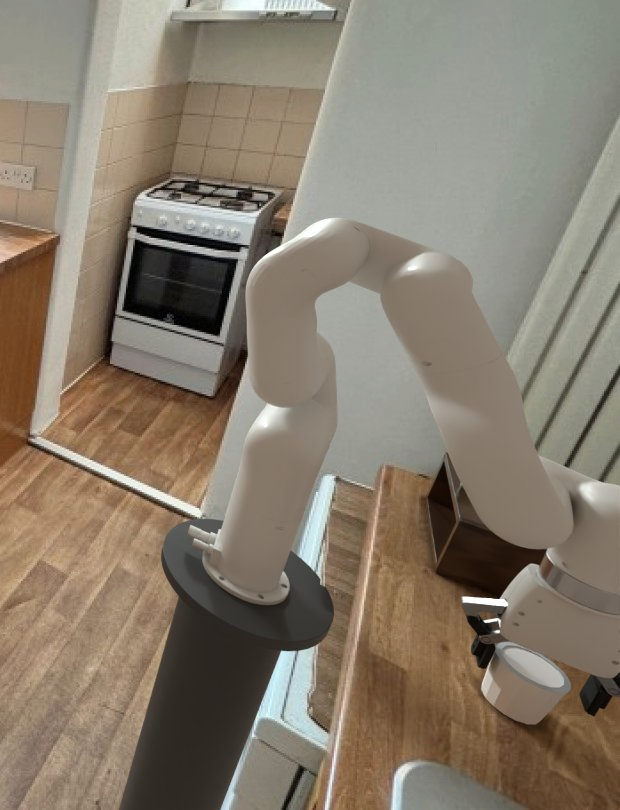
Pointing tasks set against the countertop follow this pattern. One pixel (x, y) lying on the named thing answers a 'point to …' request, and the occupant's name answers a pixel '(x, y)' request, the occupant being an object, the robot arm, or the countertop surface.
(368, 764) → the countertop surface
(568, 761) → the countertop surface
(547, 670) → the white cylinder
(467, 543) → the tray
